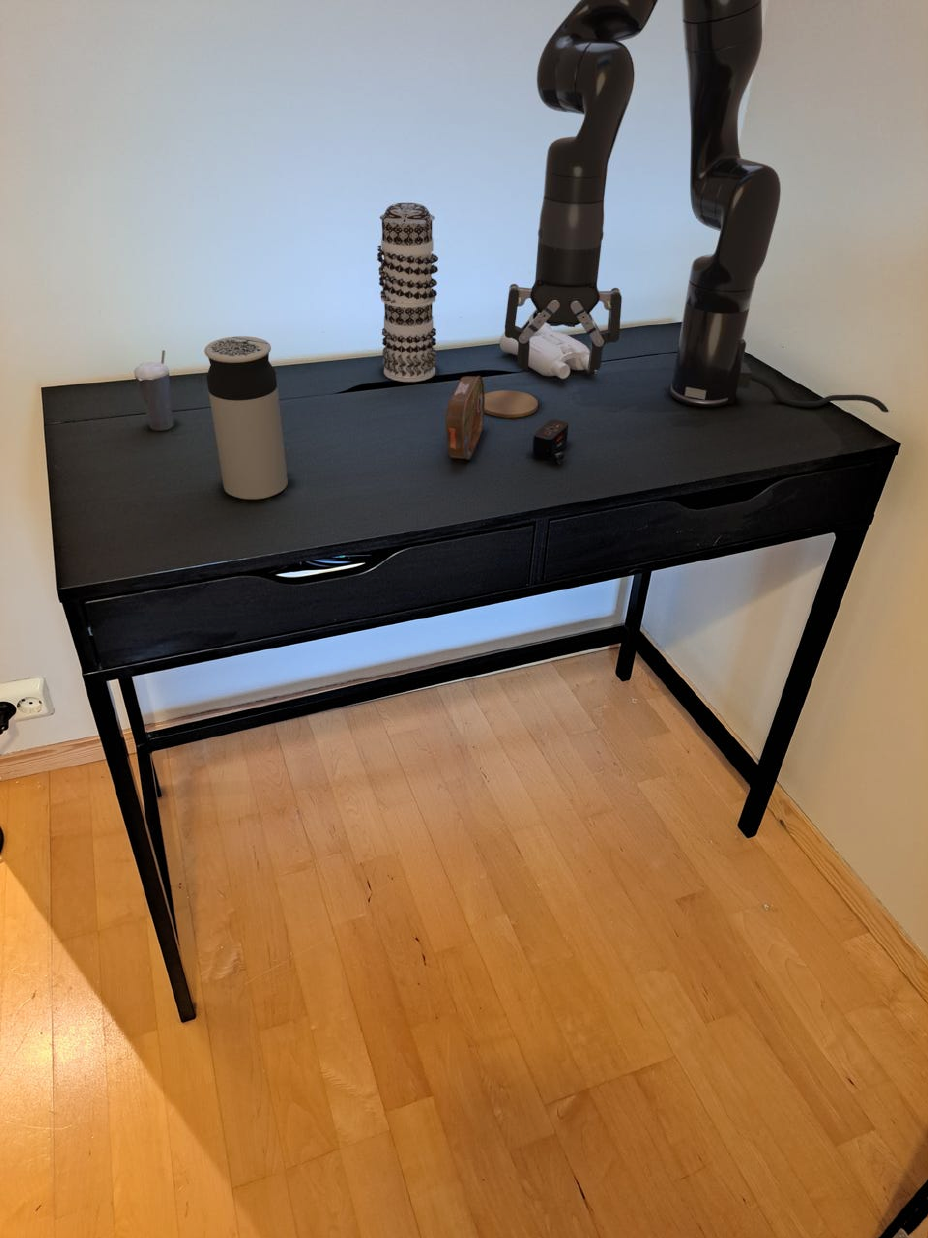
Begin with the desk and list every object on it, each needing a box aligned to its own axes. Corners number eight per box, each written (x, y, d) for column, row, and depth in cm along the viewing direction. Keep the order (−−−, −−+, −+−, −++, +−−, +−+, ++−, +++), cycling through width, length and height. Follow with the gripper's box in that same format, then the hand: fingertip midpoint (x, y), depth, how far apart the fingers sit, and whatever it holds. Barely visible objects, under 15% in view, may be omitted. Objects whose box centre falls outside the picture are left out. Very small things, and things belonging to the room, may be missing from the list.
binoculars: (548, 345, 157) (550, 318, 154) (604, 376, 146) (607, 347, 143) (497, 354, 153) (499, 327, 150) (551, 387, 142) (553, 358, 139)
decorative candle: (369, 374, 144) (362, 207, 129) (402, 357, 151) (399, 196, 136) (416, 387, 141) (414, 216, 126) (448, 369, 147) (450, 204, 132)
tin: (465, 470, 118) (466, 410, 113) (442, 467, 119) (442, 407, 114) (486, 423, 130) (488, 367, 125) (464, 421, 131) (465, 365, 126)
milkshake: (189, 421, 129) (177, 353, 123) (164, 435, 125) (150, 365, 119) (163, 415, 131) (150, 347, 125) (138, 429, 127) (123, 359, 121)
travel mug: (258, 508, 109) (238, 364, 99) (210, 490, 113) (186, 349, 102) (301, 482, 115) (287, 343, 104) (254, 466, 118) (236, 330, 108)
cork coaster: (537, 394, 139) (537, 390, 139) (538, 418, 132) (539, 414, 132) (479, 392, 139) (479, 388, 139) (477, 416, 132) (477, 412, 132)
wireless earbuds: (527, 459, 121) (529, 437, 119) (549, 439, 126) (551, 418, 124) (559, 467, 120) (561, 445, 118) (580, 447, 125) (582, 425, 123)
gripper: (627, 232, 109) (610, 362, 119) (509, 228, 109) (502, 358, 119) (633, 249, 103) (615, 384, 113) (509, 244, 103) (502, 379, 113)
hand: (557, 371), depth 116 cm, fingers open, 8 cm apart
